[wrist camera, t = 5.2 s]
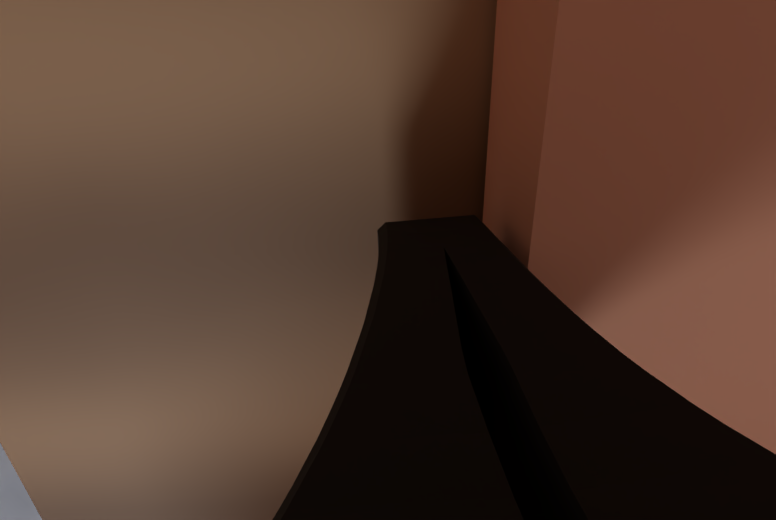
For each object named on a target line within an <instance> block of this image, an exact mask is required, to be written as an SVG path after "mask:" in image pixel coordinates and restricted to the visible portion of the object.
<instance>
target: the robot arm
mask: <svg viewBox="0 0 776 520" xmlns="http://www.w3.org/2000/svg"><path fill="white" fill-rule="evenodd" d="M377 234H378V263H377V270H376V275H375V281H374V286H373V290H372V294H371V297H370V301H369V305H368V309H367V313H366V317H365V320H364V324H363V327H362V330H361V333H360V336H359V339H358V342H357V344H356V347H355V350H354V353H353V356H352V358H351V361H350V364H349V367H348V370H347V372H346V375H345V377H344V380H343V382H342V385H341V387H340V390H339V392H338V394H337V397H336V399H335V401H334V404H333V406H332V408H331V410H330V412H329V415H328V417H327V419H326V421H325V423H324V425H323V427H322V429H321V432H320V434H319V436H318V438H317V440H316V442H315V444H314V446H313V448H312V449H311V451H310V453H309V455H308V457H307V459H306V461H305V463H304V465H303V466H302V468H301V470H300V472H299V474H298V476H297V478H296V480H295V481H294V483H293V485H292V487H291V489H290V491H289V492H288V494H287V496H286V498H285V499H284V501H283V503H282V505H281V506H280V508H279V510H278V511H277V513H276V515H275V516H274V518H273V520H776V454H774V453H773V452H771V451H769V450H768V449H766V448H764V447H763V446H761V445H759V444H757V443H756V442H754V441H752V440H751V439H749V438H747V437H746V436H744V435H742V434H741V433H739V432H737V431H736V430H734V429H732V428H731V427H729V426H727V425H726V424H724V423H722V422H721V421H719V420H718V419H716V418H715V417H713V416H711V415H710V414H708V413H707V412H705V411H704V410H702V409H700V408H699V407H697V406H696V405H694V404H693V403H691V402H690V401H688V400H687V399H686V398H684V397H683V396H681V395H680V394H678V393H677V392H676V391H674V390H673V389H671V388H670V387H668V386H667V385H665V384H664V383H663V382H661V381H660V380H658V379H657V378H655V377H654V376H653V375H651V374H650V373H648V372H647V371H645V370H644V369H643V368H641V367H640V366H639V365H637V364H636V363H635V362H633V361H632V360H631V359H629V358H628V357H627V356H625V355H624V354H623V353H622V352H620V351H619V350H618V349H617V348H615V347H614V346H613V345H612V344H611V343H609V342H608V341H607V340H606V339H604V338H603V337H602V336H601V335H600V334H598V333H597V332H596V331H595V330H593V329H592V328H591V327H590V326H589V325H588V324H587V323H585V322H584V321H583V320H582V319H581V318H580V317H579V316H577V315H576V314H575V313H574V312H573V311H572V310H571V309H570V308H569V307H567V306H566V305H565V304H564V303H563V302H562V301H561V300H560V299H559V298H558V297H557V296H556V295H555V294H553V293H552V292H551V291H550V290H549V289H548V288H547V287H546V286H545V285H544V284H543V283H542V282H541V281H540V280H539V279H538V278H536V277H535V276H534V275H533V274H532V273H531V272H530V271H529V270H528V269H527V268H526V267H525V266H524V265H523V264H522V263H521V262H520V261H519V260H518V259H517V258H516V257H515V256H514V254H513V253H512V252H511V251H510V250H509V249H508V248H507V247H506V246H505V245H504V244H503V243H502V242H501V241H500V240H499V239H498V238H497V237H496V236H495V235H494V234H493V233H492V231H491V230H490V229H489V228H488V227H487V226H486V225H485V224H484V223H483V222H482V221H481V220H480V219H479V218H478V217H476V216H475V215H466V216H454V217H442V218H430V219H418V220H406V221H395V222H385V223H384V224H383V225H382V226H381V227H380V228H379V229H378V230H377Z"/></svg>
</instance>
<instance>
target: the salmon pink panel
mask: <svg viewBox="0 0 776 520" xmlns="http://www.w3.org/2000/svg"><path fill="white" fill-rule="evenodd" d="M482 222H483V223H484V224H485V225H486V226H487V227H488V228H489V229H490V230H491V231H492V233H493V234H494V235H495V236H496V237H497V238H498V239H499V240H500V241H501V242H502V243H503V244H504V245H505V246H506V247H507V248H508V249H509V250H510V251H511V252H512V253H513V254H514V256H515V257H516V258H517V259H518V260H519V261H520V262H521V263H522V264H523V265H524V266H525V267H526V268H527V269H528V270H529V271H530V272H531V273H532V274H533V275H534V276H535V277H536V278H538V279H539V280H540V281H541V282H542V283H543V284H544V285H545V286H546V287H547V288H548V289H549V290H550V291H551V292H552V293H553V294H555V295H556V296H557V297H558V298H559V299H560V300H561V301H562V302H563V303H564V304H565V305H566V306H567V307H569V308H570V309H571V310H572V311H573V312H574V313H575V314H576V315H577V316H579V317H580V318H581V319H582V320H583V321H584V322H585V323H587V324H588V325H589V326H590V327H591V328H592V329H593V330H595V331H596V332H597V333H598V334H600V335H601V336H602V337H603V338H604V339H606V340H607V341H608V342H609V343H611V344H612V345H613V346H614V347H615V348H617V349H618V350H619V351H620V352H622V353H623V354H624V355H625V356H627V357H628V358H629V359H631V360H632V361H633V362H635V363H636V364H637V365H639V366H640V367H641V368H643V369H644V370H645V371H647V372H648V373H650V374H651V375H653V376H654V377H655V378H657V379H658V380H660V381H661V382H663V383H664V384H665V385H667V386H668V387H670V388H671V389H673V390H674V391H676V392H677V393H678V394H680V395H681V396H683V397H684V398H686V399H687V400H688V401H690V402H691V403H693V404H694V405H696V406H697V407H699V408H700V409H702V410H704V411H705V412H707V413H708V414H710V415H711V416H713V417H715V418H716V419H718V420H719V421H721V422H722V423H724V424H726V425H727V426H729V427H731V428H732V429H734V430H736V431H737V432H739V433H741V434H742V435H744V436H746V437H747V438H749V439H751V440H752V441H754V442H756V443H757V444H759V445H761V446H763V447H764V448H766V449H768V450H769V451H771V452H773V453H774V454H776V0H497V10H496V25H495V40H494V55H493V70H492V85H491V100H490V116H489V131H488V146H487V161H486V176H485V191H484V206H483V221H482Z"/></svg>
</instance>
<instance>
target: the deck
mask: <svg viewBox="0 0 776 520" xmlns="http://www.w3.org/2000/svg"><path fill="white" fill-rule="evenodd" d="M496 10H497V0H0V443H1V445H2V447H3V448H4V450H5V452H6V454H7V456H8V458H9V459H10V461H11V463H12V465H13V467H14V469H15V470H16V472H17V474H18V476H19V478H20V480H21V481H22V483H23V485H24V487H25V489H26V490H27V492H28V494H29V496H30V498H31V500H32V501H33V503H34V505H35V507H36V509H37V511H38V512H39V514H40V516H41V518H42V520H273V518H274V516H275V515H276V513H277V511H278V510H279V508H280V506H281V505H282V503H283V501H284V499H285V498H286V496H287V494H288V492H289V491H290V489H291V487H292V485H293V483H294V481H295V480H296V478H297V476H298V474H299V472H300V470H301V468H302V466H303V465H304V463H305V461H306V459H307V457H308V455H309V453H310V451H311V449H312V448H313V446H314V444H315V442H316V440H317V438H318V436H319V434H320V432H321V429H322V427H323V425H324V423H325V421H326V419H327V417H328V415H329V412H330V410H331V408H332V406H333V404H334V401H335V399H336V397H337V394H338V392H339V390H340V387H341V385H342V382H343V380H344V377H345V375H346V372H347V370H348V367H349V364H350V361H351V358H352V356H353V353H354V350H355V347H356V344H357V342H358V339H359V336H360V333H361V330H362V327H363V324H364V320H365V317H366V313H367V309H368V305H369V301H370V297H371V294H372V290H373V286H374V281H375V275H376V270H377V263H378V234H377V230H378V229H379V228H380V227H381V226H382V225H383V224H384V223H385V222H395V221H406V220H418V219H430V218H442V217H454V216H466V215H475V216H476V217H478V218H479V219H480V220H481V221H483V206H484V191H485V176H486V161H487V146H488V131H489V116H490V100H491V85H492V70H493V55H494V40H495V25H496Z"/></svg>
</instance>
